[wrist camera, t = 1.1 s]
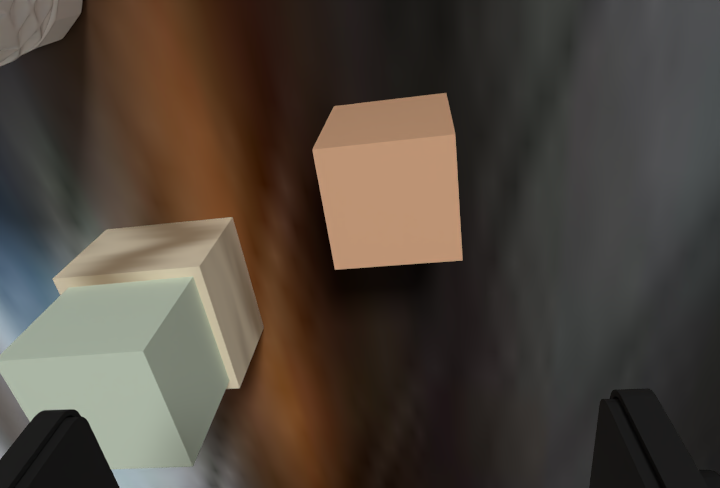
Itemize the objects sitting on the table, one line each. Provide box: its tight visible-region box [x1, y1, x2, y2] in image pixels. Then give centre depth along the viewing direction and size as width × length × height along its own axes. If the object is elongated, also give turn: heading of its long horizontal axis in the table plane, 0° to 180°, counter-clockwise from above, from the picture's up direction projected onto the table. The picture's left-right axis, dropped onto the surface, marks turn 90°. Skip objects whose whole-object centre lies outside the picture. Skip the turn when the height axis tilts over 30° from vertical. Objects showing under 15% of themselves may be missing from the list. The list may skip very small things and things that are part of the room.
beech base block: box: [53, 217, 264, 389], centre depth 28 cm, size 7×7×5 cm
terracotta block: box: [312, 93, 462, 270], centre depth 23 cm, size 5×5×6 cm
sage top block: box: [0, 276, 230, 469], centre depth 23 cm, size 6×6×5 cm
